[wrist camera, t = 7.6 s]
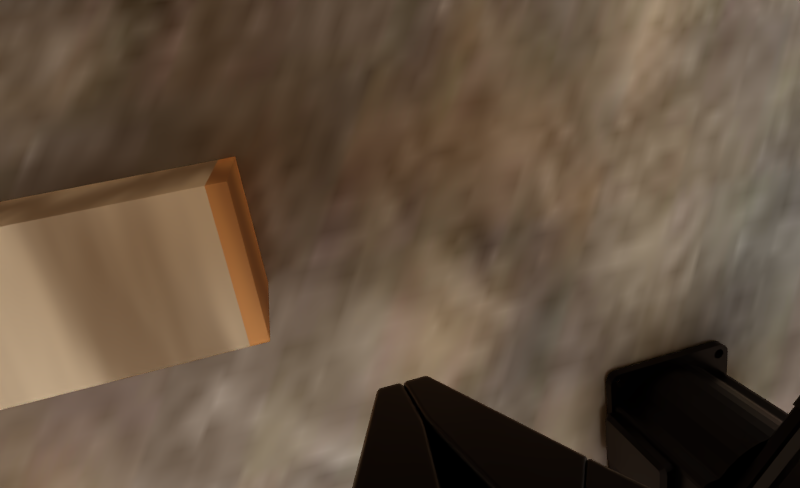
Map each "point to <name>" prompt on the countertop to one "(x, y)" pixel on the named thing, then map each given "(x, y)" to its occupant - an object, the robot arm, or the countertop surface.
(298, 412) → the countertop surface
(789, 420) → the robot arm
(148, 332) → the birch block
